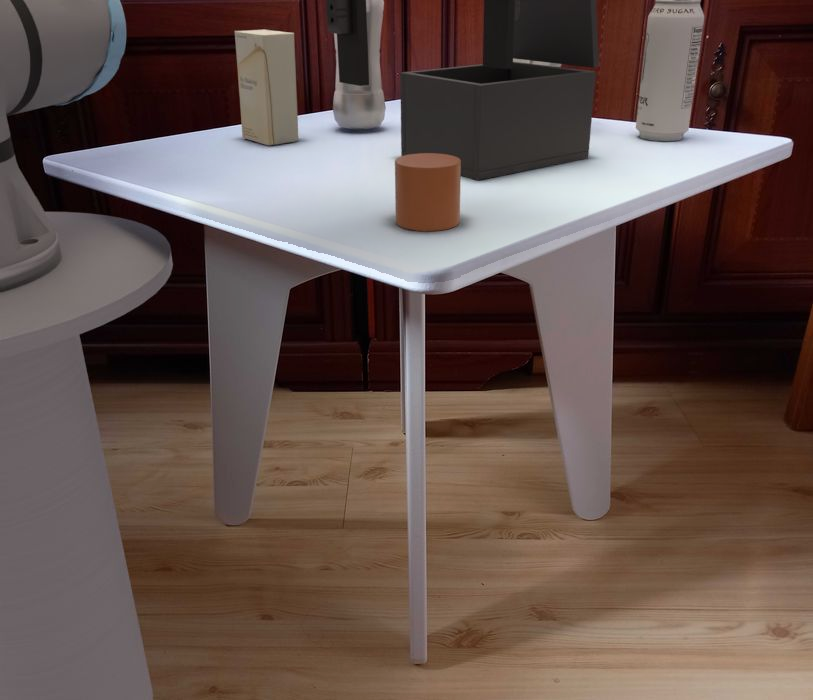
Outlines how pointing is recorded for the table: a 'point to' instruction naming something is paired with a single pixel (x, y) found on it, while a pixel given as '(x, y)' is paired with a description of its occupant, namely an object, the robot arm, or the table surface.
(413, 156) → the orange cylinder
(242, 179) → the table surface
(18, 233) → the robot arm
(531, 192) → the table surface
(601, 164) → the table surface
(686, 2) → the energy drink can
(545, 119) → the open lidded box
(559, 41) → the box lid
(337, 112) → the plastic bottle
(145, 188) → the table surface
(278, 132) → the cosmetic box
